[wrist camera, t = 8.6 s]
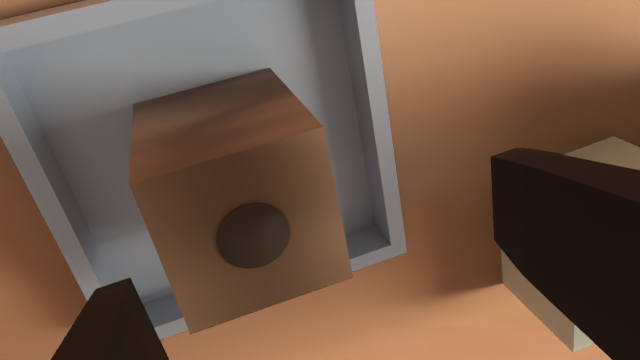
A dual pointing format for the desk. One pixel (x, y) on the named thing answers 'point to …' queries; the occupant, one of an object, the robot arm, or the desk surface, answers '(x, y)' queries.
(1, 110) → the tray
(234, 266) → the block
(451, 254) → the desk surface
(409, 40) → the desk surface
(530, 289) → the oversize block
